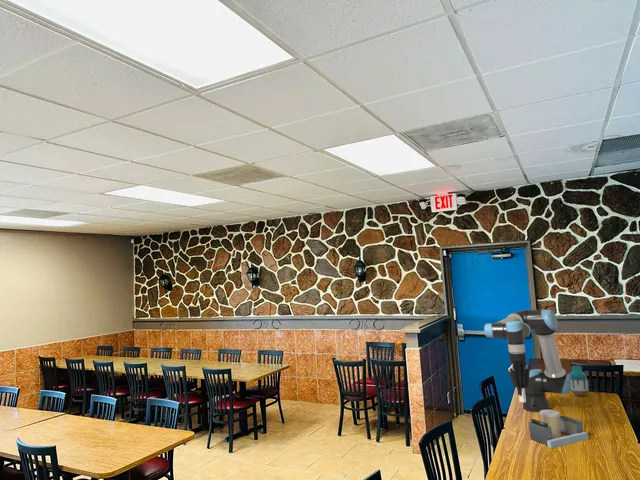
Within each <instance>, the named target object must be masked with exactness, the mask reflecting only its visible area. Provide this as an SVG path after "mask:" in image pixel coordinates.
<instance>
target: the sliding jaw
mask: <svg viewBox="0 0 640 480" xmlns="http://www.w3.org/2000/svg"><path fill="white" fill-rule="evenodd" d="M528 428H529V437H530V439H532V440H534V441H537V442H539V443H541V444H544V445H547V440H551V439H553V437H552V429H551V427H550V426H548V424H547V423H544V422H541V420H538V419H535V418H531V419H530V421H528Z"/></svg>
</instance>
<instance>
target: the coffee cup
mask: <svg viewBox="0 0 640 480" xmlns="http://www.w3.org/2000/svg"><path fill="white" fill-rule="evenodd" d="M538 413H539V417H540V421H541V422H544V423H547V424H548V426H550V427H551V429H552V437H553V439H555V438H560V437H562V433H561V428H560V416H561V414H560V412H559V411H558V410H554V409H550V410H541V411H540V412H538Z"/></svg>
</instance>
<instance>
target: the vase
mask: <svg viewBox="0 0 640 480" xmlns="http://www.w3.org/2000/svg"><path fill="white" fill-rule="evenodd" d="M571 369H572V371H571V372H569V374H570V376H571V389H570V392H571V393H572V394H573V395H574V396H577V397H585V396H587V395H588V394H589V393H590V391H589V390H590V389H589V381H588V377H587V376H588V375H587V374H586V373H585V372H584V371H583V370H582V366H581V365H572V366H571Z"/></svg>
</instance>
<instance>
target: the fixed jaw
mask: <svg viewBox="0 0 640 480" xmlns="http://www.w3.org/2000/svg"><path fill="white" fill-rule="evenodd" d="M560 428H561V434H564V435H565V436H568V435H573V434H577V433H581V432H584V427H583V421H582V420H579V419H577V418H573V417H568V416H566V415H560Z"/></svg>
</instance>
